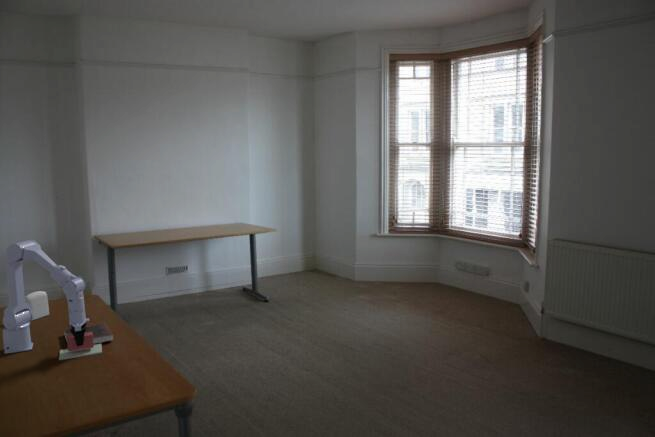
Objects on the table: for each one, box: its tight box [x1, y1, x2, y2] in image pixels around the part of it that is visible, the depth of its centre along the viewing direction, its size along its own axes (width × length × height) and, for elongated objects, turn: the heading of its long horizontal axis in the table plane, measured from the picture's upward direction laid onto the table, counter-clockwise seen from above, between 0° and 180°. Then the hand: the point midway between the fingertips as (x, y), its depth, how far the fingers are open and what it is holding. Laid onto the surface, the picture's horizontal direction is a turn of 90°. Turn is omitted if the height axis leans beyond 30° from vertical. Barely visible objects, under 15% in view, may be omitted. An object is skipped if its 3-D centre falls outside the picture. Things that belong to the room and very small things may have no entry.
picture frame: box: [63, 322, 114, 345], centre depth 236 cm, size 16×2×22 cm
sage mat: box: [58, 343, 103, 361], centre depth 221 cm, size 15×10×1 cm, turn 113°
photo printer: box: [25, 290, 50, 322], centre depth 267 cm, size 10×4×12 cm, turn 152°
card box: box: [66, 332, 95, 351], centre depth 220 cm, size 9×4×5 cm, turn 113°
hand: (80, 343), depth 220 cm, fingers closed on card box, 4 cm apart
